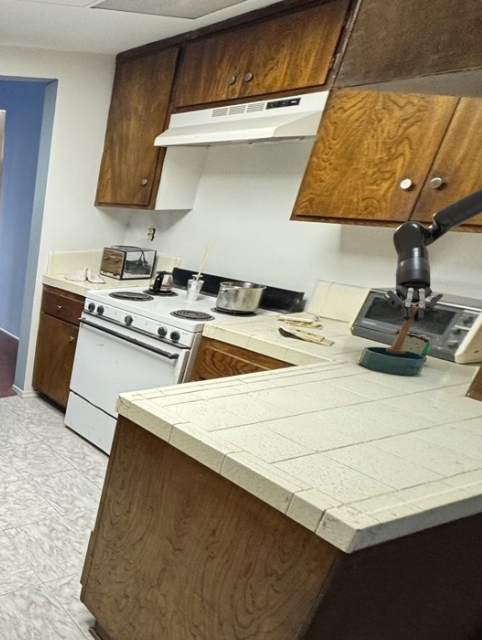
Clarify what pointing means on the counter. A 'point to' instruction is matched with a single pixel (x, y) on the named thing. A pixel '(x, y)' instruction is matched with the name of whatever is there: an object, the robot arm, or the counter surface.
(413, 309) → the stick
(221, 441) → the counter surface
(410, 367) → the bowl
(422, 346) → the sandwich
